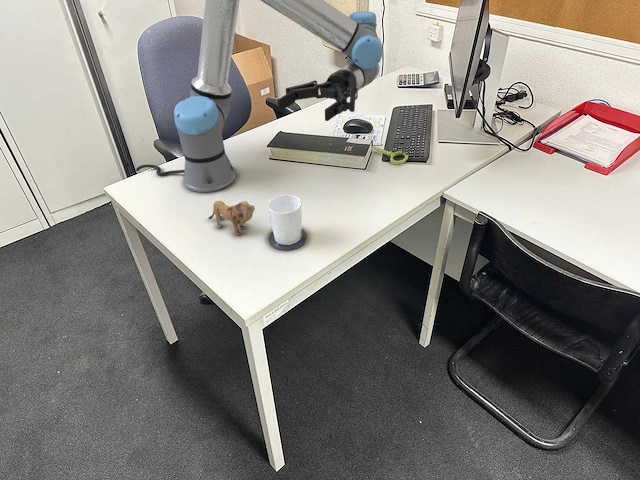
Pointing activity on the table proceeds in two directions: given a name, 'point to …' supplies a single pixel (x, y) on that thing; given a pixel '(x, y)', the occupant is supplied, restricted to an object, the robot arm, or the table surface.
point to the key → (391, 155)
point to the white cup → (285, 218)
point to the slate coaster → (287, 247)
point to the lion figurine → (233, 214)
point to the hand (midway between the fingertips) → (301, 110)
